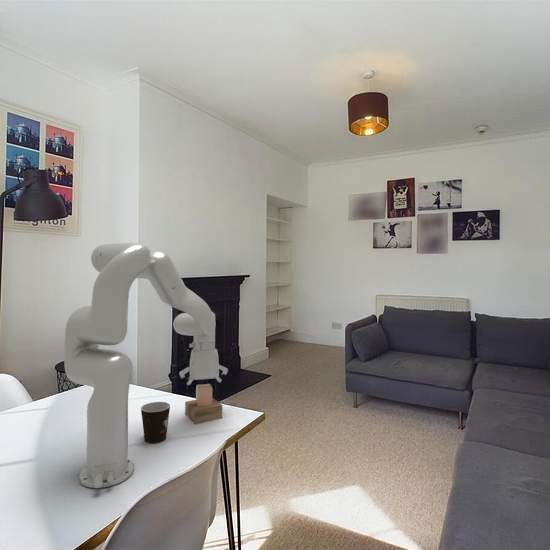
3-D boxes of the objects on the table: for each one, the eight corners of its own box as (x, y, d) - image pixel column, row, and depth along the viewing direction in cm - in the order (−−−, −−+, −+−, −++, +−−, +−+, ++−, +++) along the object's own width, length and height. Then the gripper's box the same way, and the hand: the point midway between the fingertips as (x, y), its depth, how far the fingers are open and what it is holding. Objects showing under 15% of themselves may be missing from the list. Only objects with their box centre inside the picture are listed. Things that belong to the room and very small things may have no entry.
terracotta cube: (212, 404, 131) (212, 388, 130) (197, 406, 129) (198, 389, 129) (209, 400, 135) (210, 383, 135) (195, 401, 134) (196, 385, 133)
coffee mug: (156, 430, 120) (157, 399, 120) (175, 436, 115) (176, 405, 115) (126, 444, 110) (126, 411, 110) (145, 452, 105) (145, 417, 105)
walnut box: (222, 419, 130) (222, 405, 130) (195, 425, 125) (195, 410, 125) (210, 409, 139) (210, 396, 139) (185, 415, 133) (185, 401, 133)
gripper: (180, 349, 125) (179, 399, 125) (230, 346, 131) (229, 394, 131) (178, 345, 132) (177, 392, 132) (225, 342, 138) (225, 388, 138)
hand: (203, 393), depth 132 cm, fingers open, 9 cm apart
